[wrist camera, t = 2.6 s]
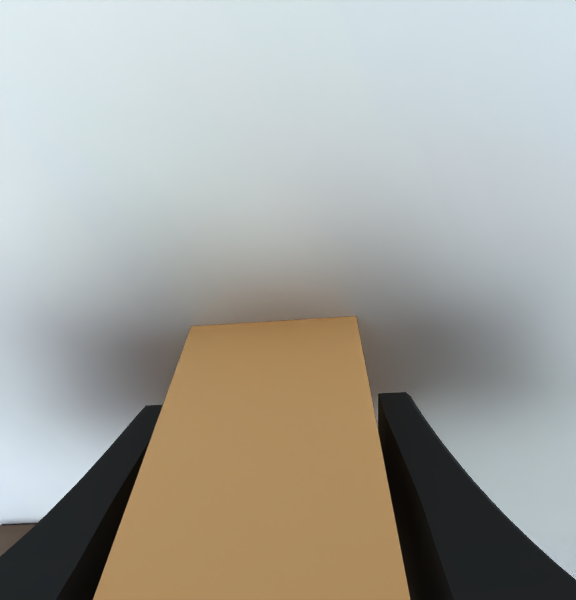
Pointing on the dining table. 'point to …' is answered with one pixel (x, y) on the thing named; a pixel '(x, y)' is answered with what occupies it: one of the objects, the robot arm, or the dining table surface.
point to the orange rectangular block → (262, 475)
